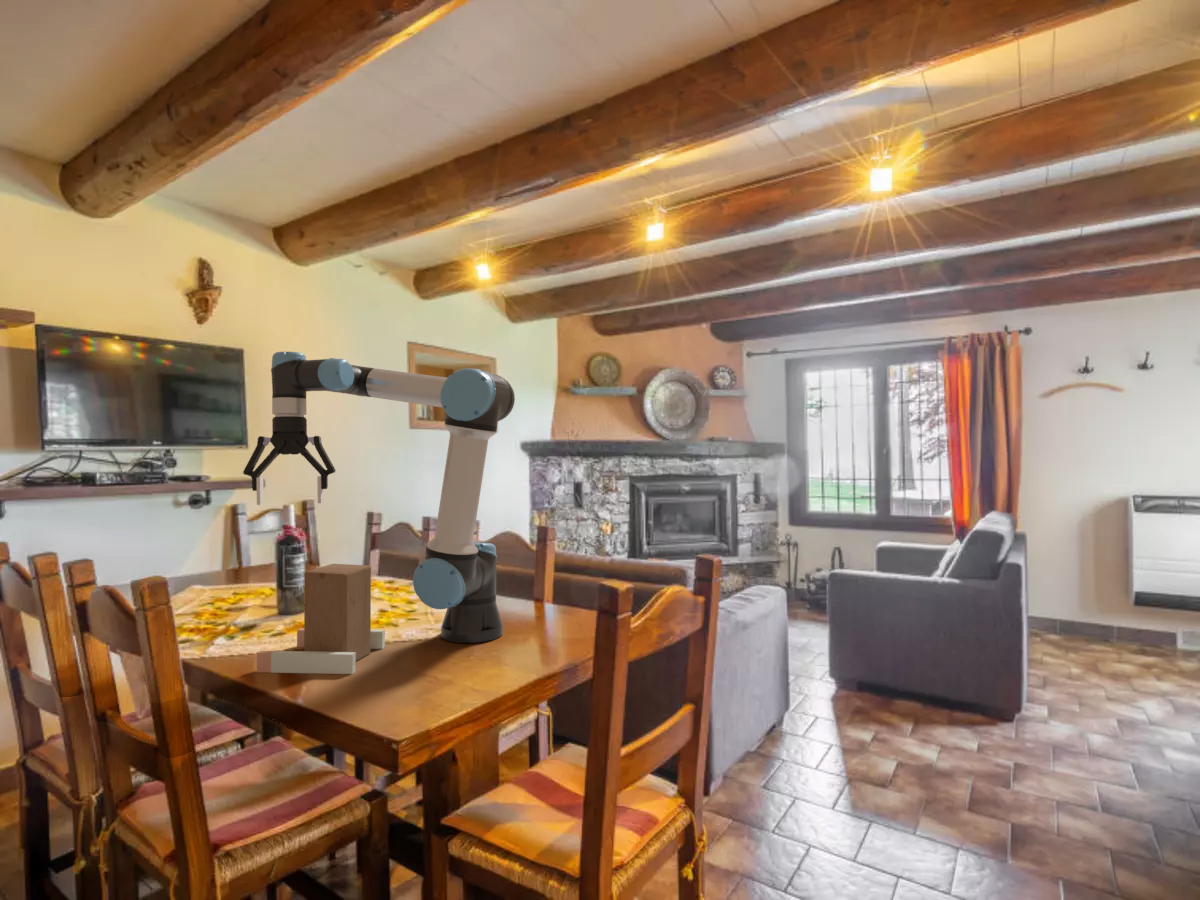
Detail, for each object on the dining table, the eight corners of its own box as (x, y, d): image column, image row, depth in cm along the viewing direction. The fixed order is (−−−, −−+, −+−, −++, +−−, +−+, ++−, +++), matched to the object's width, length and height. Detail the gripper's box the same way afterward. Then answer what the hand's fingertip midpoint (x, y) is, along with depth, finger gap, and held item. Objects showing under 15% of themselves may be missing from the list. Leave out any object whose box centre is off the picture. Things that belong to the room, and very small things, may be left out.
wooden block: (345, 668, 135) (345, 573, 135) (303, 665, 137) (303, 571, 137) (371, 653, 145) (371, 565, 145) (331, 650, 147) (332, 563, 147)
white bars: (384, 646, 150) (384, 629, 150) (352, 674, 132) (352, 654, 132) (300, 645, 150) (300, 628, 150) (256, 672, 132) (256, 652, 132)
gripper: (346, 417, 162) (347, 501, 162) (238, 417, 157) (239, 503, 157) (341, 415, 155) (342, 503, 155) (227, 415, 150) (228, 506, 150)
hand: (290, 503), depth 156 cm, fingers open, 13 cm apart
